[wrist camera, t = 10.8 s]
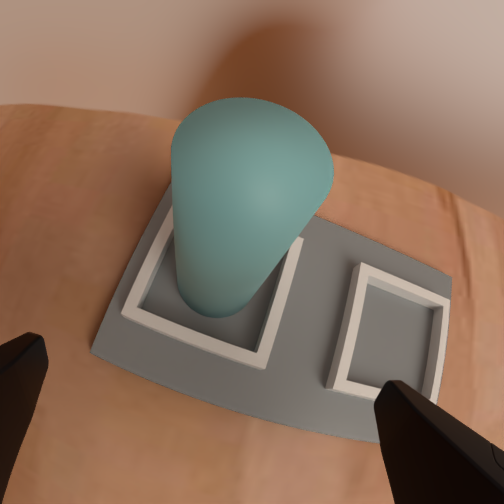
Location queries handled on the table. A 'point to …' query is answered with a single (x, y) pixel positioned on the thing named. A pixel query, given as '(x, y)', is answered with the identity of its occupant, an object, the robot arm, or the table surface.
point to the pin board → (287, 330)
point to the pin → (241, 197)
